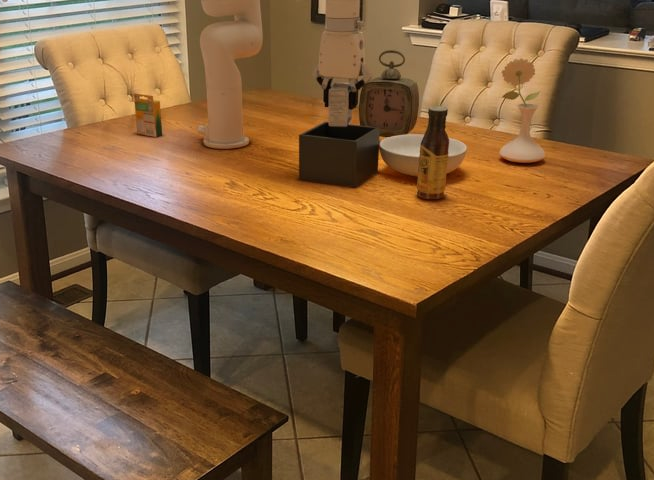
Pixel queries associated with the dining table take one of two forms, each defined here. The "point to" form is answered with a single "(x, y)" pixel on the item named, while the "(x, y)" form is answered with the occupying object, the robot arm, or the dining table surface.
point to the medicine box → (339, 105)
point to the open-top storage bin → (339, 154)
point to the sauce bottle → (433, 156)
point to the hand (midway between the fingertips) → (340, 106)
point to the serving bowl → (415, 153)
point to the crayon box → (148, 116)
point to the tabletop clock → (389, 101)
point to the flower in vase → (523, 144)
